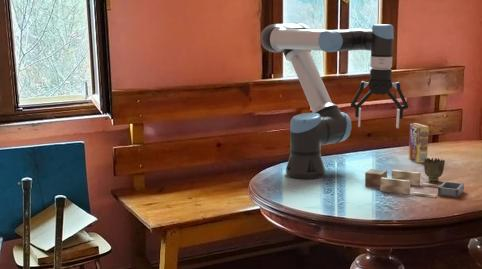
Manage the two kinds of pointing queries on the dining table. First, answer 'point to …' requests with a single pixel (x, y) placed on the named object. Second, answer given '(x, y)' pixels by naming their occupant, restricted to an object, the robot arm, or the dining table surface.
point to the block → (374, 177)
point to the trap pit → (450, 189)
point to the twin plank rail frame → (404, 183)
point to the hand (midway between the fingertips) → (378, 126)
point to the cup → (434, 168)
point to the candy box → (418, 142)
